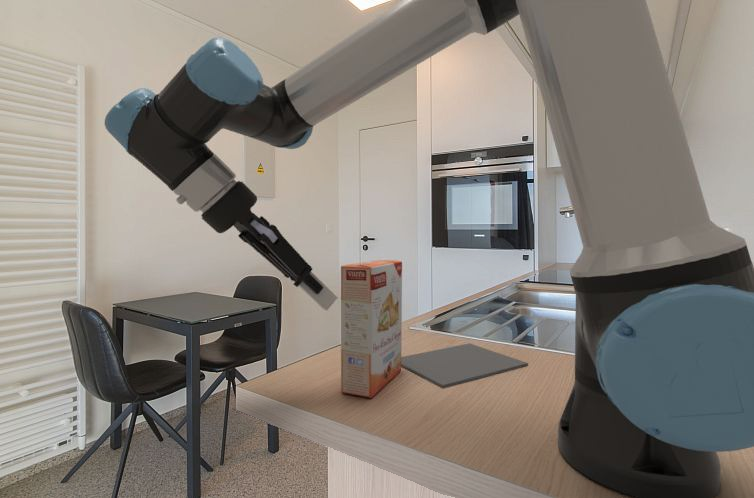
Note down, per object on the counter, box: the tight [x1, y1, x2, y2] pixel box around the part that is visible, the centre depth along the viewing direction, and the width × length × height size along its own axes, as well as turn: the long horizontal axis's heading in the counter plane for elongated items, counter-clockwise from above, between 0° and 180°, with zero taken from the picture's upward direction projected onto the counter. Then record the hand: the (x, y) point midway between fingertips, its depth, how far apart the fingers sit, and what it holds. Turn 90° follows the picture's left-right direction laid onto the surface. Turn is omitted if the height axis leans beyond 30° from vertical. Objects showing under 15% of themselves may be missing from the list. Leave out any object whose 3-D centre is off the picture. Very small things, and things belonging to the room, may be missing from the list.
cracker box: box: [340, 259, 403, 399], centre depth 68 cm, size 14×6×21 cm, turn 156°
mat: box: [401, 343, 529, 389], centre depth 77 cm, size 16×21×1 cm
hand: (330, 303), depth 64 cm, fingers closed
